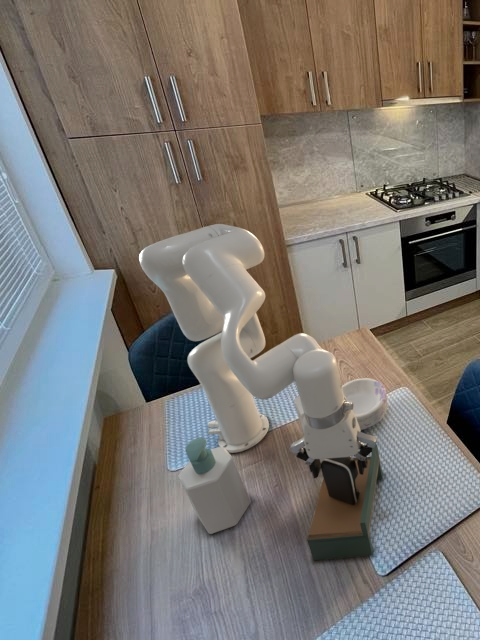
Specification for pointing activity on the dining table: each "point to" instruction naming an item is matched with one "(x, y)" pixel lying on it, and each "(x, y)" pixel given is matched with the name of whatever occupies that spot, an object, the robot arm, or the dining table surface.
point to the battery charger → (341, 478)
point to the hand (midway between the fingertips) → (340, 470)
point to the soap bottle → (214, 486)
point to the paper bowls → (366, 400)
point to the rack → (345, 518)
